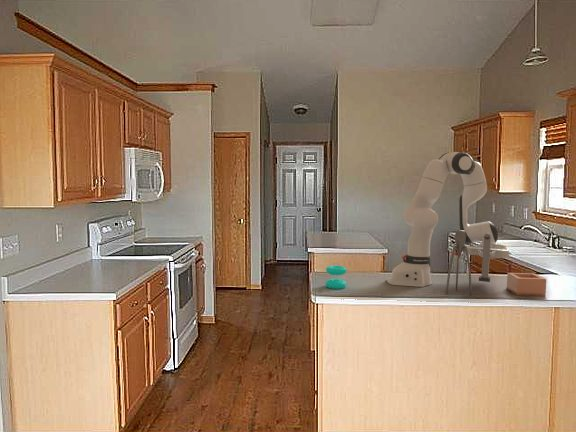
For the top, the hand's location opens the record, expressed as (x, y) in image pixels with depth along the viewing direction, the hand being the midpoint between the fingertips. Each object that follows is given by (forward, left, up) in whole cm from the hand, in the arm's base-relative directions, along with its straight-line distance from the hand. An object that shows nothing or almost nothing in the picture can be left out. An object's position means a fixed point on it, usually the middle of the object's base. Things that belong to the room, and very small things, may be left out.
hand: (486, 254), depth 251 cm
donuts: (-71, -1, -18) cm, 74 cm away
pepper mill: (0, +1, -13) cm, 13 cm away
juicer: (-14, -6, -18) cm, 24 cm away
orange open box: (+19, -2, -18) cm, 26 cm away
